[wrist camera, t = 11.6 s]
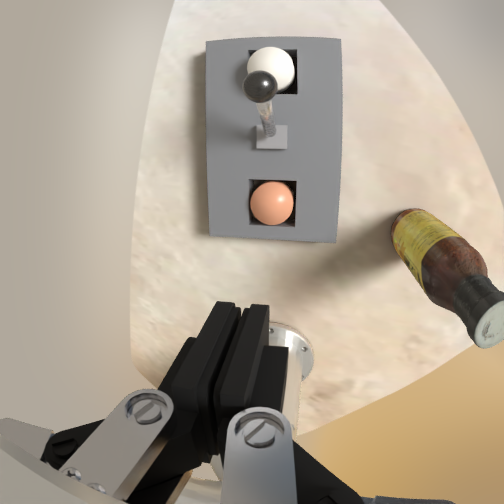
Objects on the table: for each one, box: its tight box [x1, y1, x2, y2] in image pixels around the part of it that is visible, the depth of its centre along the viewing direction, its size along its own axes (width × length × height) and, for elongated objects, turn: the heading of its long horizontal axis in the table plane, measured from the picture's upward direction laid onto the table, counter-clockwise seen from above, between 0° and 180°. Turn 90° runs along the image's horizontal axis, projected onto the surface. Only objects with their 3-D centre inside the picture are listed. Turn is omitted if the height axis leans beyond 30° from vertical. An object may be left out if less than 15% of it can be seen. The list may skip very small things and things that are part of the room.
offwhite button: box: [247, 47, 295, 93], centre depth 27 cm, size 4×4×4 cm
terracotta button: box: [250, 180, 294, 225], centre depth 33 cm, size 4×4×4 cm
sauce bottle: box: [391, 208, 504, 348], centre depth 24 cm, size 6×6×20 cm
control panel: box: [206, 37, 342, 243], centre depth 31 cm, size 22×14×4 cm, turn 0°
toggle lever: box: [242, 70, 278, 137], centre depth 24 cm, size 3×3×9 cm
